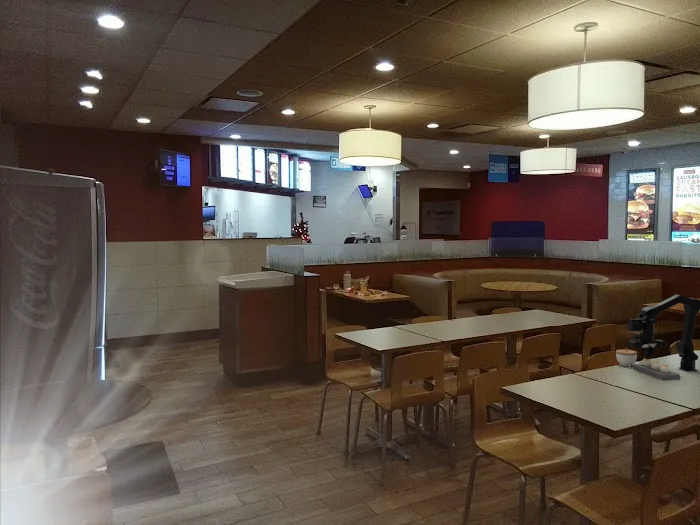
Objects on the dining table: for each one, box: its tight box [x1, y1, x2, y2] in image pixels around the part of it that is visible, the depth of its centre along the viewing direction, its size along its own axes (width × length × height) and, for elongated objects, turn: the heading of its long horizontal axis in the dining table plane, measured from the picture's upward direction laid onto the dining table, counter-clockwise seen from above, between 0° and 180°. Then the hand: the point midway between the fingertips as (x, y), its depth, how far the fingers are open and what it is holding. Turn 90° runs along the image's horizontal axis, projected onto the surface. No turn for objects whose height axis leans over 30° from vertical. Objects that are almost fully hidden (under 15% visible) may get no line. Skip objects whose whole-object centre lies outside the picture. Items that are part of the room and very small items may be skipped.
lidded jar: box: [615, 347, 638, 367], centre depth 318 cm, size 11×11×9 cm
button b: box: [651, 361, 661, 370], centre depth 298 cm, size 4×4×4 cm
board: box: [632, 363, 681, 381], centre depth 298 cm, size 10×24×2 cm, turn 7°
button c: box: [660, 364, 670, 374], centre depth 291 cm, size 4×4×4 cm
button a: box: [642, 358, 652, 367], centre depth 305 cm, size 4×4×4 cm
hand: (647, 359), depth 305 cm, fingers closed
